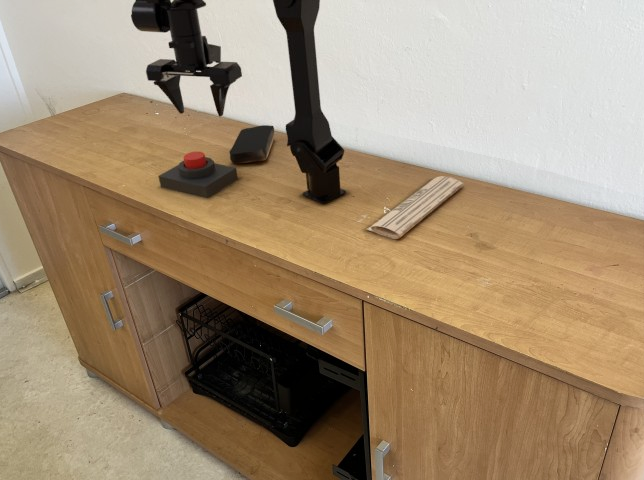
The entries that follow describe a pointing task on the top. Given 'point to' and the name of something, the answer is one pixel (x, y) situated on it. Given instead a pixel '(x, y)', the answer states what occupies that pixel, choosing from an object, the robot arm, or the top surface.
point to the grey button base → (199, 178)
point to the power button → (194, 160)
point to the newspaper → (416, 207)
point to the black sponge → (252, 144)
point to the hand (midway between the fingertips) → (201, 114)
